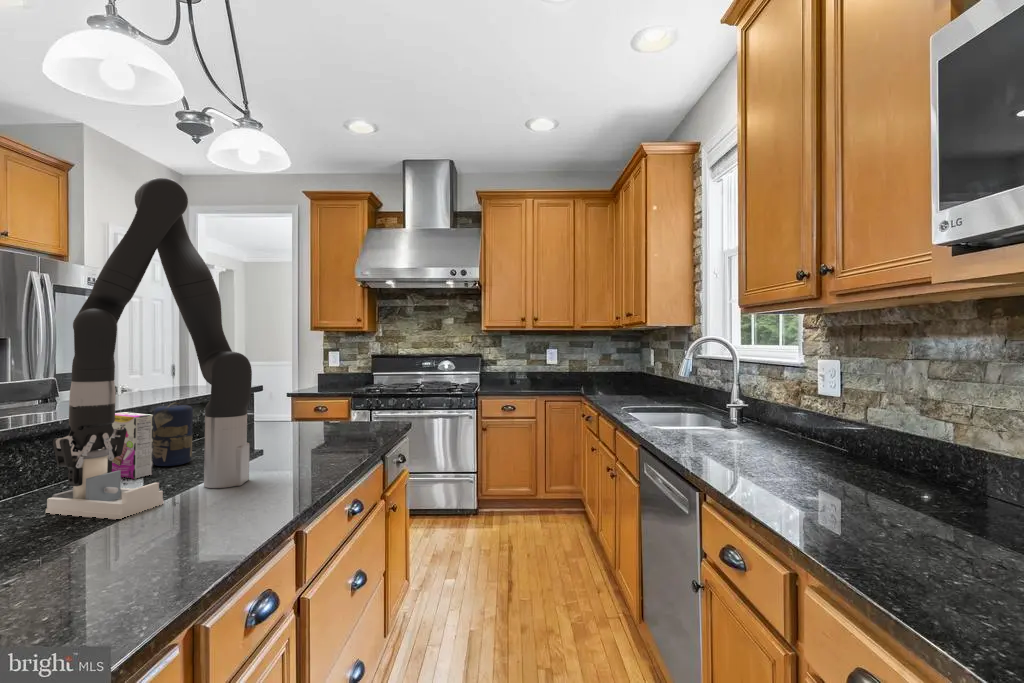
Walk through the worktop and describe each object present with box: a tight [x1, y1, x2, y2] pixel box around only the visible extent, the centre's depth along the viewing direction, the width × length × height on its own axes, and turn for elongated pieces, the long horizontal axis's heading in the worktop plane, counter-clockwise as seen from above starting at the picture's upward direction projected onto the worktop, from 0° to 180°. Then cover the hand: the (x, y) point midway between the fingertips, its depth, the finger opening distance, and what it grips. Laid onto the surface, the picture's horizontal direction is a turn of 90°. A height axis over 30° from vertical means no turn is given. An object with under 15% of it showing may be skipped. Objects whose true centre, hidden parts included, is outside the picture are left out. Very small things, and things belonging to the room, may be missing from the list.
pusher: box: [86, 471, 122, 501], centre depth 105 cm, size 3×7×6 cm, turn 170°
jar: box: [72, 448, 109, 500], centre depth 105 cm, size 6×6×10 cm
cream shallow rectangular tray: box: [45, 482, 165, 520], centre depth 105 cm, size 18×10×5 cm, turn 80°
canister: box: [152, 402, 194, 467], centre depth 144 cm, size 10×10×18 cm
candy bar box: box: [109, 411, 154, 480], centre depth 131 cm, size 11×5×16 cm, turn 71°
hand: (90, 481), depth 105 cm, fingers closed on jar, 5 cm apart
